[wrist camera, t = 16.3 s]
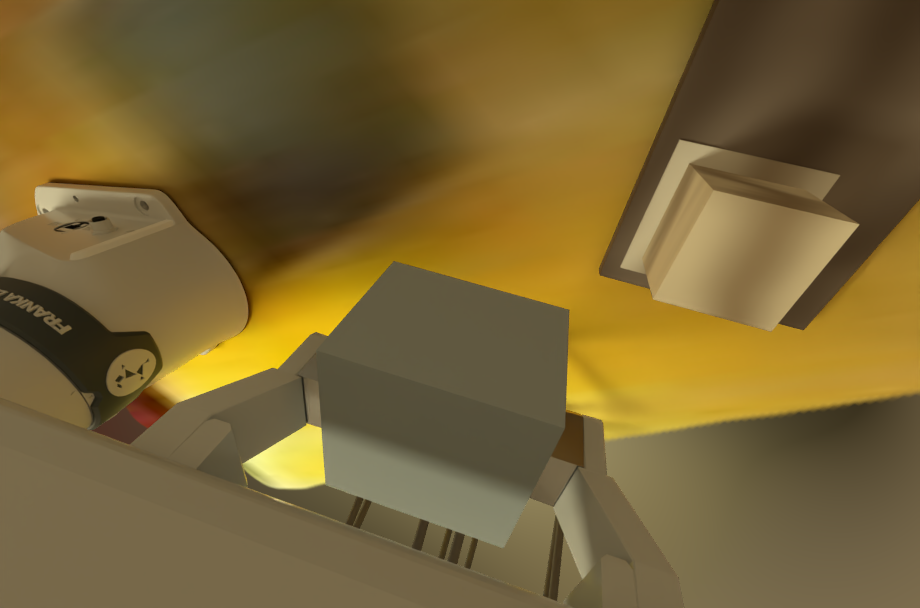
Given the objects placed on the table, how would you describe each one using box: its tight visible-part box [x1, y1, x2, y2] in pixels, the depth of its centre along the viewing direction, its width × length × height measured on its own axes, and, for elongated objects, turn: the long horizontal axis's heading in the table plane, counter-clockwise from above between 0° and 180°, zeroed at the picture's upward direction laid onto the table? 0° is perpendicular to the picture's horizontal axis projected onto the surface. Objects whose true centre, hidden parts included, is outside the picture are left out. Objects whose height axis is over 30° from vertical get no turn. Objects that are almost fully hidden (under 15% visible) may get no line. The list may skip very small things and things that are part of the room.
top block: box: [316, 261, 569, 548], centre depth 10 cm, size 5×5×4 cm
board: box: [599, 0, 920, 330], centre depth 19 cm, size 13×22×1 cm, turn 171°
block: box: [642, 164, 860, 331], centre depth 21 cm, size 6×6×5 cm
